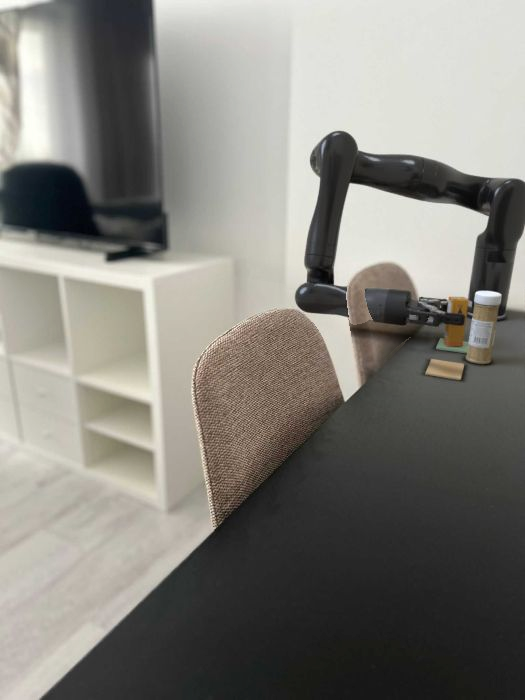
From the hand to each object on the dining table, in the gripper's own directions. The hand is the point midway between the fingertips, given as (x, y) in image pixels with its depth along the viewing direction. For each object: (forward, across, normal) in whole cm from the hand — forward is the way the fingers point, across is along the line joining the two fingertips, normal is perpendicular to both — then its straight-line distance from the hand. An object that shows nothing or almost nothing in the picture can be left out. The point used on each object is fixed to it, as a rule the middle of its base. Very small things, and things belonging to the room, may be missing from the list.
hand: (466, 315), depth 104 cm
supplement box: (-2, 0, +7) cm, 7 cm away
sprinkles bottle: (+4, -7, +7) cm, 11 cm away
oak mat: (-2, -15, +7) cm, 17 cm away
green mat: (-2, 0, +7) cm, 7 cm away
